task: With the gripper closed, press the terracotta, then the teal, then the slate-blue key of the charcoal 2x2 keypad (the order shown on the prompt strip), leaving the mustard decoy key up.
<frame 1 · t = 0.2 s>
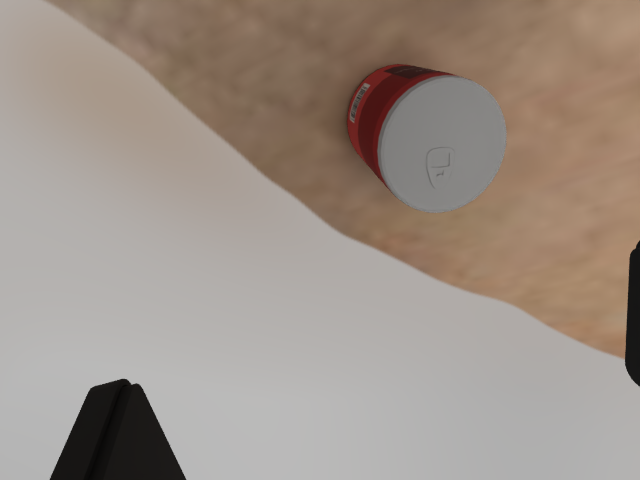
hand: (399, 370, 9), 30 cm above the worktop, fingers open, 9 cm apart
canned food: (392, 117, 38), on the worktop
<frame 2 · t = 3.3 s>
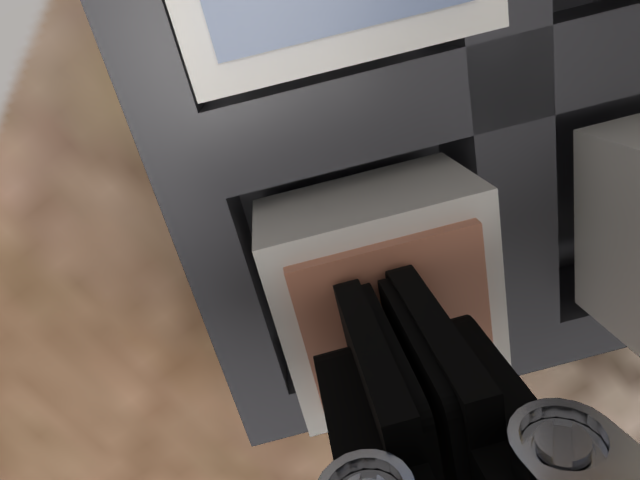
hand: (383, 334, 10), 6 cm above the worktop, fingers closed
key terracotta: (379, 291, 12), point 4 cm above the worktop, slide at 0.9 cm, touching gripper
keypad: (461, 72, 14), on the worktop
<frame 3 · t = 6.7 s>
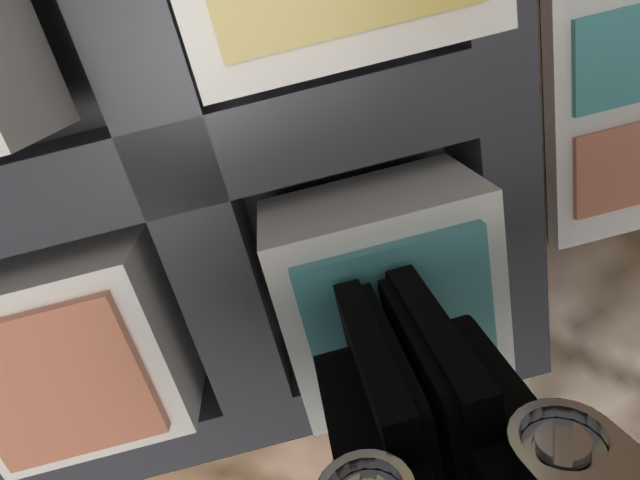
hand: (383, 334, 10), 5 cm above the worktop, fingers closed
prompt strip: (602, 57, 14), on the worktop
key terracotta: (79, 346, 13), point 2 cm above the worktop, slide at 2.2 cm
key teal: (383, 292, 12), point 4 cm above the worktop, slide at 1.0 cm, touching gripper
keypad: (190, 142, 14), on the worktop
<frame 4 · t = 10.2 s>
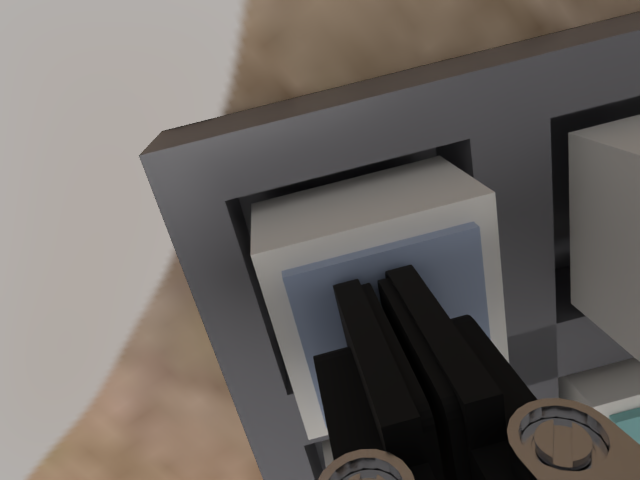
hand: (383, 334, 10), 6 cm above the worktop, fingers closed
key terracotta: (409, 475, 16), point 2 cm above the worktop, slide at 2.2 cm
key teal: (635, 413, 17), point 2 cm above the worktop, slide at 2.2 cm
keypad: (482, 308, 17), on the worktop
key slate: (378, 294, 12), point 4 cm above the worktop, slide at 0.8 cm, touching gripper
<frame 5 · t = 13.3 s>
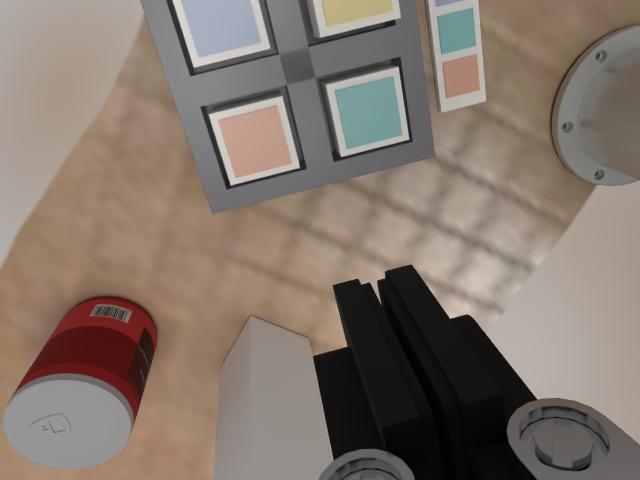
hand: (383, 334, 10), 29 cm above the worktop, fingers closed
prompt strip: (453, 31, 36), on the worktop
key terracotta: (255, 137, 35), point 2 cm above the worktop, slide at 2.2 cm
key teal: (364, 110, 35), point 2 cm above the worktop, slide at 2.2 cm
milk: (265, 350, 45), on the worktop
keypad: (293, 63, 35), on the worktop
key slate: (221, 16, 31), point 2 cm above the worktop, slide at 2.2 cm
canned food: (111, 331, 42), on the worktop
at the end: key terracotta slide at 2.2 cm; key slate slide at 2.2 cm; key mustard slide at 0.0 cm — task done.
